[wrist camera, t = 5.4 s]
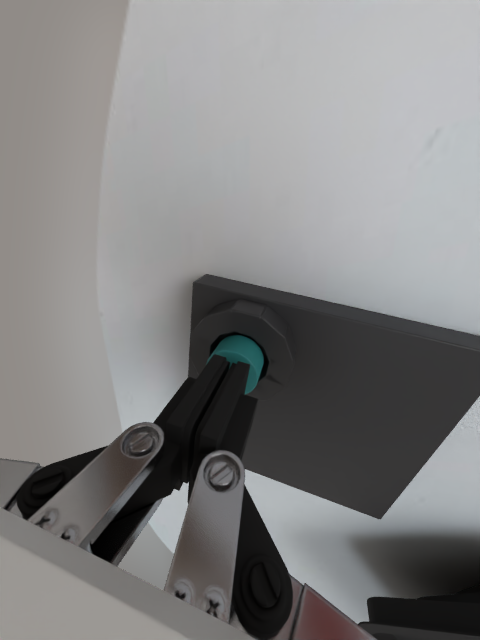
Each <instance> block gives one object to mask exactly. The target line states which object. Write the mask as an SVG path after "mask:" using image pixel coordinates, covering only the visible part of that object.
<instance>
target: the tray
mask: <svg viewBox="0 0 480 640" xmlns="http://www.w3.org/2000/svg"><path fill="white" fill-rule="evenodd" d="M367 606H368V614H369V622H360V623H359V624H358V625H359V626H360V627H361V628H363V629H364V630H365V631H366V632H368V633H369V634H370V635H372V636H373V637H374V638H375V639H377V640H480V584H479V585H477V586H474V587H471V588H469V589H466V590H464V591H461V592H458V593H456V594H452V595H440V596H427V597H421V598H418V599H404V598H390V597H371V598H369V599H367Z"/></svg>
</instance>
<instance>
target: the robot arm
mask: <svg viewBox="0 0 480 640" xmlns="http://www.w3.org/2000/svg"><path fill="white" fill-rule="evenodd" d="M229 366H230V362H229V361H226V357H223V356H220V355H217V354H214V355H213V356H212V358H211V359H210V360H209V362H208V363H207V365H206V366H205V368H204V369H203V370H202V372H201V373H200V375H199V376H198V378H197V379H194V378H191V377H189V378H187V379H186V380H185V382H184V383H183V384H182V386H181V387H180V388H179V390H178V391H177V392H176V394H175V395H174V396H173V398H172V399H171V400H170V402H169V403H168V404H167V406H166V407H165V408H164V409H163V411H162V412H161V413H160V415H159V416H158V417H157V419H156V420H155V421H154V423H150V422H143V423H138V424H135V425H133V426H131V427H129V428H128V429H127V430H125V431H124V432H123V433H122V434H121V435H120V436H119V437H118V438H116V439H115V440H114V441H113V442H112V443H111V444H110V445H109V446H106V447H103V448H99V449H96V450H93V451H90V452H87V453H84V454H81V455H77V456H74V457H71V458H68V459H65V460H62V461H59V462H56V463H53V464H50V465H48V466H46V467H41V466H40V464H39V463H33V462H25V461H17V460H9V459H0V640H377V639H375V638H374V637H373V636H372V635H370V634H369V633H368V632H366V631H365V630H364V629H363V628H361V627H360V626H359V625H358V624H356V623H355V622H354V621H353V620H351V619H350V618H349V617H348V616H346V615H345V614H344V613H343V612H341V611H340V610H339V609H337V608H336V607H335V606H334V605H332V604H331V603H330V602H329V601H327V600H326V599H325V598H324V597H322V596H321V595H320V594H319V593H317V592H316V591H315V590H314V589H312V588H311V587H310V586H309V585H307V584H306V583H305V584H304V585H302V584H301V583H300V582H299V581H297V580H296V579H295V578H294V577H292V576H291V575H290V574H289V573H288V570H287V568H286V566H285V564H284V562H283V560H282V558H281V556H280V554H279V552H278V550H277V548H276V546H275V544H274V542H273V540H272V538H271V536H270V534H269V532H268V530H267V528H266V526H265V524H264V522H263V520H262V518H261V516H260V514H259V512H258V510H257V508H256V506H255V504H254V502H253V500H252V498H251V496H250V494H249V493H248V491H247V489H246V487H245V485H244V482H245V469H244V466H243V463H242V461H241V460H242V457H243V453H244V450H245V447H246V443H247V440H248V437H249V433H250V430H251V426H252V423H253V419H254V415H255V411H256V407H257V403H258V399H257V398H254V397H251V396H248V395H244V394H245V389H246V384H247V379H248V374H249V369H250V364H247V363H244V362H240V361H238V362H237V364H236V363H232V365H231V367H230V369H229ZM183 482H185V483H188V482H189V490H188V508H187V511H186V515H185V518H184V522H183V525H182V528H181V532H180V535H179V539H178V542H177V546H176V549H175V553H174V557H173V560H172V563H171V567H170V570H169V574H168V577H167V580H166V584H165V587H164V591H163V590H161V589H159V588H158V587H156V586H153V585H152V584H150V583H148V582H146V581H144V580H142V579H140V578H138V577H136V576H134V575H132V574H130V573H128V572H126V571H124V570H122V569H120V568H119V567H117V566H118V564H119V563H120V562H121V560H122V559H123V557H124V556H125V554H126V553H127V551H128V550H129V549H130V547H131V546H132V544H133V543H134V541H135V540H136V538H137V537H138V536H139V534H140V533H141V531H142V530H143V528H144V527H145V525H146V524H147V523H148V521H149V520H150V518H151V517H152V515H153V514H154V513H155V511H156V510H157V508H158V507H159V505H160V504H161V502H162V500H163V498H164V497H166V496H168V495H171V493H172V491H173V489H176V490H180V488H181V486H182V484H183Z"/></svg>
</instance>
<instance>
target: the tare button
mask: <svg viewBox="0 0 480 640" xmlns="http://www.w3.org/2000/svg"><path fill="white" fill-rule="evenodd" d="M214 354H217V355H220V356H223V357H226V361H229V362H230V366H229V369H230V367H231V365H232V363H236V364H237V362H238V361H240V362H244V363H247V364H250V369H249V374H248V379H247V384H246V389H245V394H248V393H249V392H251V391H252V390H253V389H254V388H255V387H256V385H257V382H258V379H259V376H260V373H261V370H262V367H263V364H264V356H263V353H262V351H261V349H260V347H259V346H258V345H257V344H256V343H255V342H254V341H253V340H251V339H249V338H247V337H244V336H240V335H233V336H228V337H226V338H224V339H223V340H222V341H221V342H220V343H219V344H218V346H217V347H216V349H215V350H214V351H213V353H212V354H211V356H210V357H209V359H208V360H207V363H208V362H209V360H210V359H211V358H212V356H213V355H214ZM207 363H206V365H207ZM245 394H244V395H245Z"/></svg>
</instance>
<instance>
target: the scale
mask: <svg viewBox="0 0 480 640" xmlns="http://www.w3.org/2000/svg"><path fill="white" fill-rule="evenodd" d="M233 335H240V336H244V337H247V338H249V339H251V340H253V341H254V342H255V343H256V344H257V345H258V346H259V347H260V349H261V351H262V353H263V356H264V364H263V367H262V370H261V373H260V376H259V379H258V382H257V385H256V387H255V388H254V389H253V390H252V391H251V392H249V393H248V394H245V395H248V396H251V397H254V398H257V399H258V403H257V407H256V411H255V415H254V419H253V423H252V426H251V430H250V433H249V437H248V440H247V443H246V447H245V450H244V453H243V457H242V460H241V461H242V463H243V466H244V469H247V470H249V471H252V472H255V473H257V474H260V475H263V476H265V477H268V478H271V479H273V480H276V481H279V482H281V483H284V484H287V485H289V486H292V487H295V488H297V489H300V490H303V491H305V492H308V493H311V494H313V495H316V496H319V497H321V498H324V499H327V500H329V501H332V502H335V503H337V504H340V505H343V506H345V507H348V508H351V509H353V510H356V511H359V512H361V513H364V514H367V515H369V516H372V517H375V518H377V519H381V518H382V517H383V515H384V514H385V513H386V512H387V510H388V509H389V508H390V507H391V505H392V504H393V503H394V502H395V501H396V499H397V498H398V497H399V496H400V494H401V493H402V492H403V491H404V489H405V488H406V487H407V486H408V484H409V483H410V482H411V481H412V479H413V478H414V477H415V476H416V474H417V473H418V472H419V471H420V469H421V468H422V467H423V466H424V464H425V463H426V462H427V461H428V460H429V458H430V457H431V456H432V455H433V453H434V452H435V451H436V450H437V448H438V447H439V446H440V445H441V443H442V442H443V441H444V440H445V438H446V437H447V436H448V435H449V433H450V432H451V431H452V430H453V428H454V427H455V426H456V425H457V423H458V422H459V421H460V420H461V419H462V417H463V416H464V415H465V414H466V412H467V411H468V410H469V409H470V407H471V406H472V405H473V404H474V402H475V401H476V400H477V399H478V397H479V396H480V336H476V335H472V334H468V333H463V332H459V331H454V330H450V329H446V328H441V327H437V326H433V325H428V324H424V323H419V322H415V321H411V320H406V319H402V318H397V317H393V316H389V315H384V314H380V313H375V312H371V311H367V310H362V309H358V308H353V307H349V306H345V305H340V304H336V303H331V302H327V301H323V300H318V299H314V298H310V297H305V296H301V295H296V294H292V293H288V292H283V291H279V290H274V289H270V288H266V287H261V286H257V285H252V284H248V283H244V282H239V281H235V280H230V279H226V278H222V277H217V276H213V275H208V274H206V275H204V276H203V277H201V278H199V279H198V280H196V281H195V282H193V295H192V314H191V333H190V350H189V371H188V378H189V377H191V378H194V379H197V378H198V376H199V375H200V373H201V372H202V370H203V369H204V368H205V366H206V363H207V360H208V359H209V357H210V356H211V354H212V353H213V351H214V350H215V349H216V347H217V346H218V344H219V343H220V342H221V341H222V340H223V339H224V338H226V337H228V336H233Z"/></svg>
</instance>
